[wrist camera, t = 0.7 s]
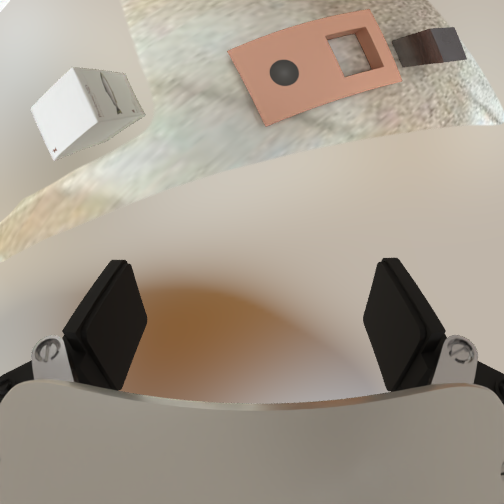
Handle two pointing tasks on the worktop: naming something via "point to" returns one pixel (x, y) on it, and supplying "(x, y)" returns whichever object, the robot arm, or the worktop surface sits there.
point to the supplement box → (85, 110)
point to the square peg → (429, 47)
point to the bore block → (311, 65)
